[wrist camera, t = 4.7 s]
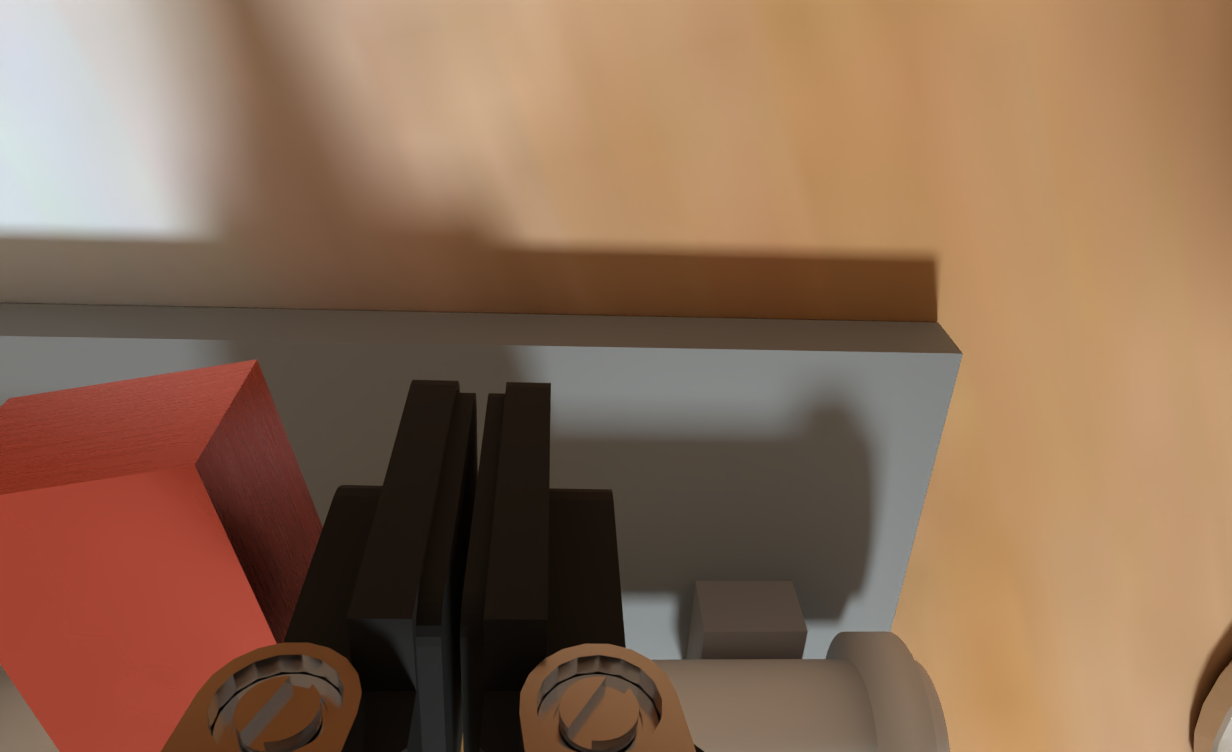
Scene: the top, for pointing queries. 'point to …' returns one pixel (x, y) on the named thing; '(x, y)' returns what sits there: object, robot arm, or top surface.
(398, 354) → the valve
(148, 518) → the lever
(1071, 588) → the top surface
